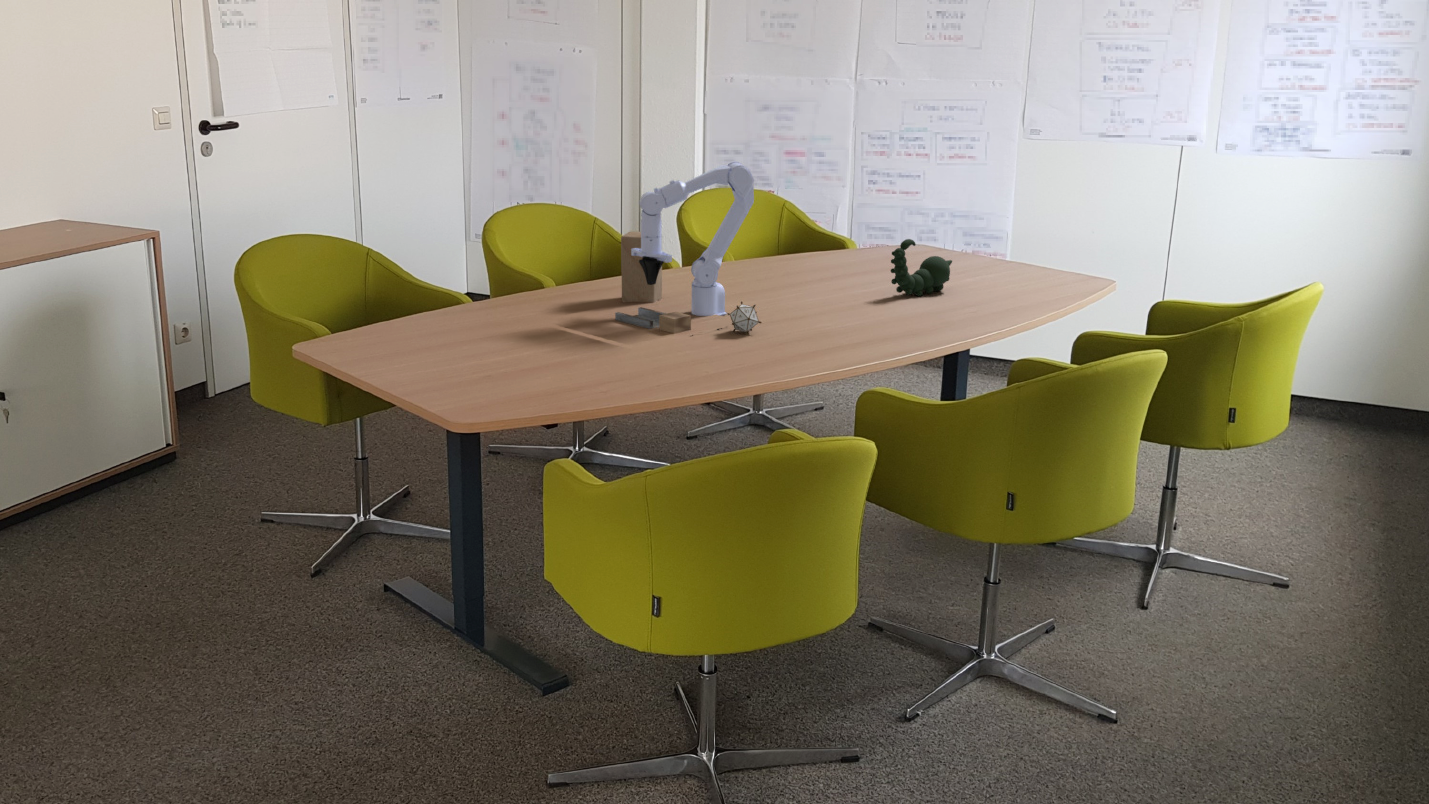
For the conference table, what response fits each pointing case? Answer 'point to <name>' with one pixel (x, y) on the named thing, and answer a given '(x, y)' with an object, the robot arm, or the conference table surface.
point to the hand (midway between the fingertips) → (651, 284)
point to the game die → (744, 318)
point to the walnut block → (675, 322)
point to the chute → (641, 318)
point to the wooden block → (636, 273)
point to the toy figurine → (919, 272)
